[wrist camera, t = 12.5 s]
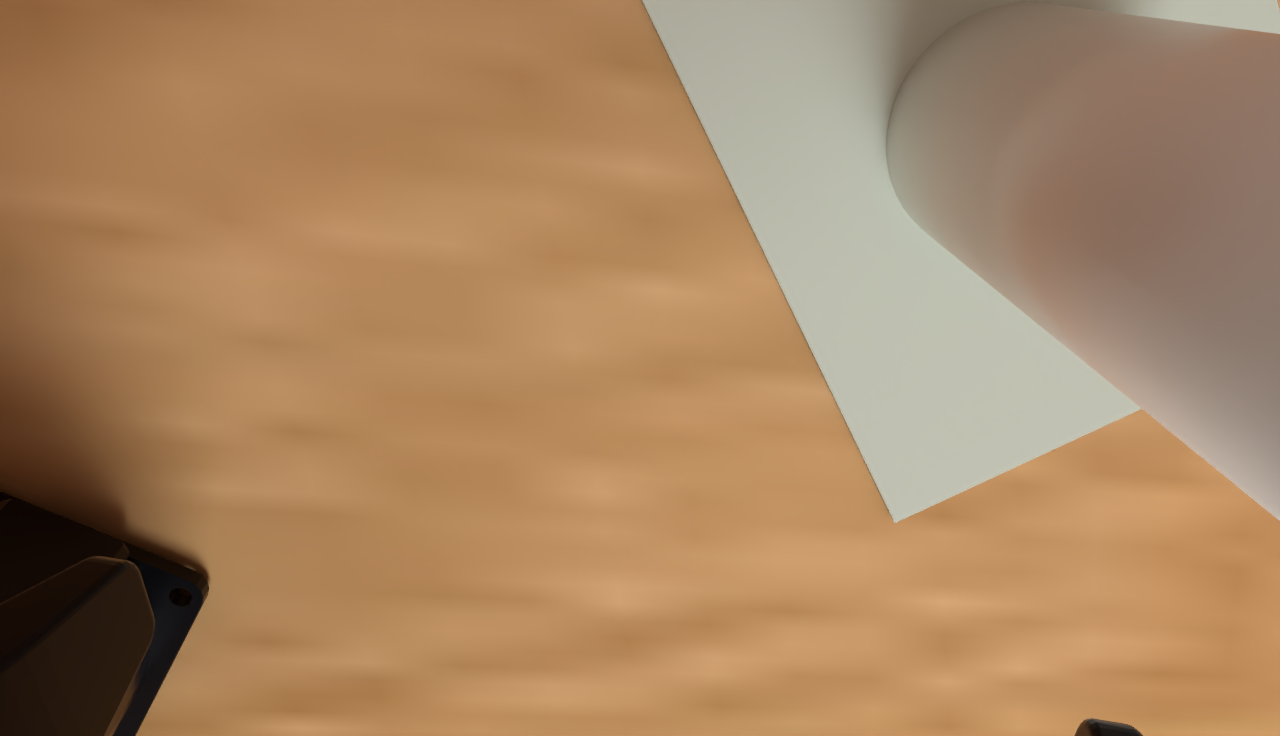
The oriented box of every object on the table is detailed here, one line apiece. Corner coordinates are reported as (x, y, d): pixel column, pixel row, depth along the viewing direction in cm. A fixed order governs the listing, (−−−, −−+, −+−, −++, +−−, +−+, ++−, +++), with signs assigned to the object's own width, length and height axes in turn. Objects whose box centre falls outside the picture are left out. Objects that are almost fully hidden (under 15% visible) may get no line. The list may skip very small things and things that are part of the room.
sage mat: (891, 516, 24) (894, 523, 24) (593, -100, 18) (593, -101, 18) (1339, 308, 23) (1349, 312, 22) (1167, -428, 17) (1177, -434, 17)
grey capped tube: (1024, 293, 22) (1701, 816, 9) (837, 179, 20) (1306, 592, 7) (1181, 87, 20) (2284, 351, 7) (989, -51, 19) (1907, -30, 6)
